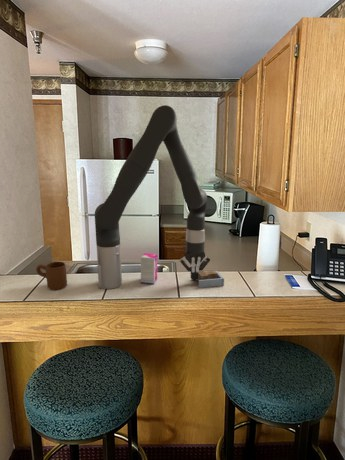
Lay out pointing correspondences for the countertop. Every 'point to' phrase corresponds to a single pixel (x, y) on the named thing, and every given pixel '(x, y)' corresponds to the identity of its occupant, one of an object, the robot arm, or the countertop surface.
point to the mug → (54, 275)
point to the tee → (207, 275)
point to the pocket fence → (212, 282)
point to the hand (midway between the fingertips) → (194, 279)
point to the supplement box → (148, 268)
